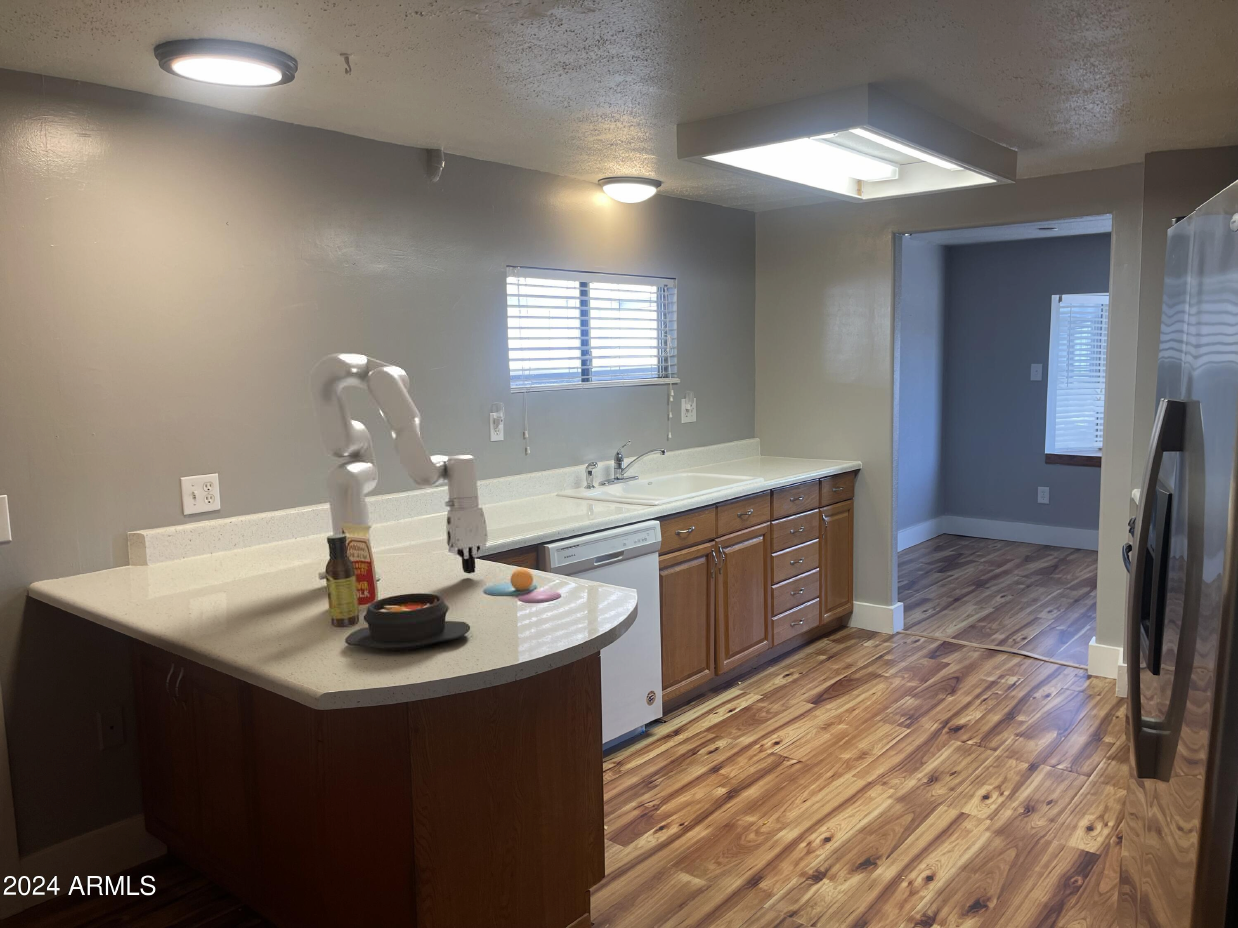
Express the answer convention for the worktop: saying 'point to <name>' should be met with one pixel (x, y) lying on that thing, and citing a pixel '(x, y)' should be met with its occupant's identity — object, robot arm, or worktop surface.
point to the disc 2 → (539, 596)
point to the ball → (521, 579)
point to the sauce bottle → (341, 583)
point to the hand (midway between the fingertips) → (469, 572)
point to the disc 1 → (506, 589)
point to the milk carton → (362, 562)
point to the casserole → (407, 623)
